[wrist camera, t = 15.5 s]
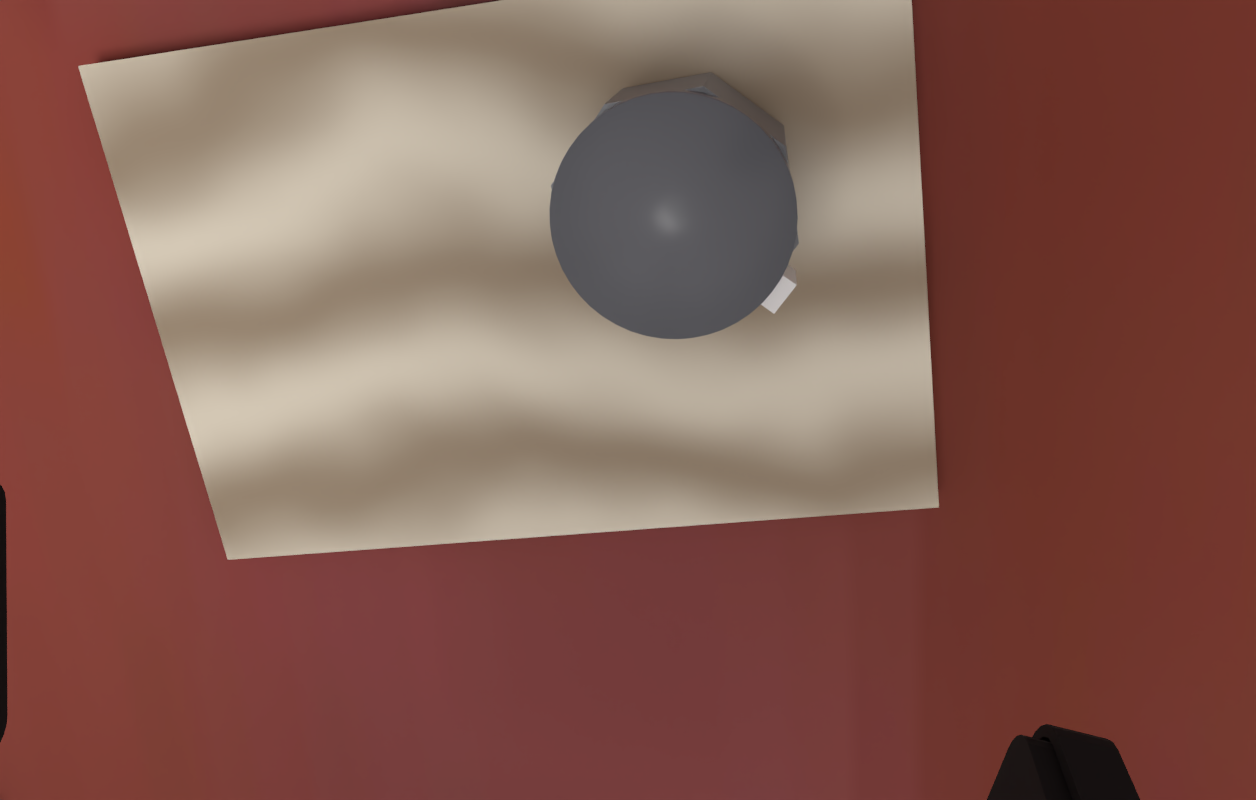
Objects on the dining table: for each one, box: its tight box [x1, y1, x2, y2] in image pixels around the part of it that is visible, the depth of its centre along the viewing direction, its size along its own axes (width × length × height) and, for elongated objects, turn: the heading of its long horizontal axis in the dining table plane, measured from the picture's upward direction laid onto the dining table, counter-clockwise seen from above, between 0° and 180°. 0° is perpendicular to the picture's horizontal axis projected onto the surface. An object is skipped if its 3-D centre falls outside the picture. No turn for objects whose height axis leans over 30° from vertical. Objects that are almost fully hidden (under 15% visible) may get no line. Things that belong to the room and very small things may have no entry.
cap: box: [549, 72, 799, 339], centre depth 32 cm, size 7×7×5 cm
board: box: [78, 0, 939, 560], centre depth 35 cm, size 18×26×6 cm
